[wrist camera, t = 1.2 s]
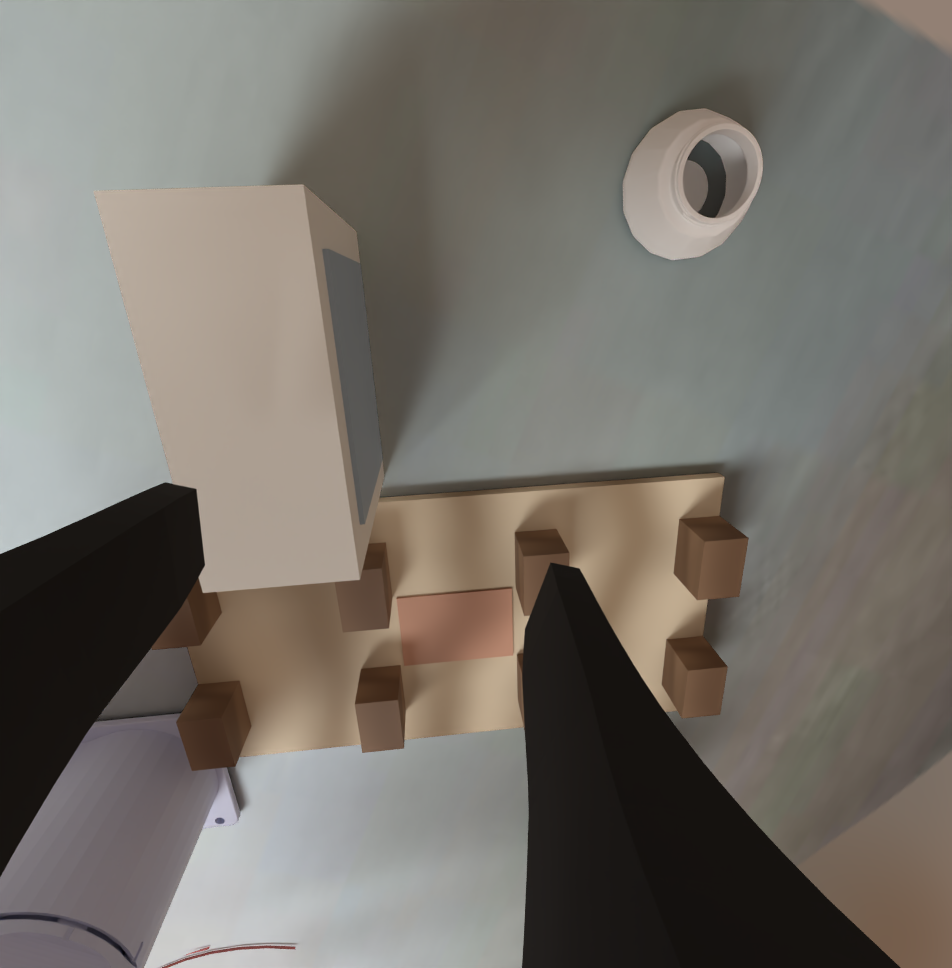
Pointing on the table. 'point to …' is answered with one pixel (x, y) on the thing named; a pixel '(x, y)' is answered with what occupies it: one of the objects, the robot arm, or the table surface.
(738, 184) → the lidless jar
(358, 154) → the table surface
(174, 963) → the pink flower cutout
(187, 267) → the tall beige pillar block
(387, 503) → the notch rack
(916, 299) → the table surface
